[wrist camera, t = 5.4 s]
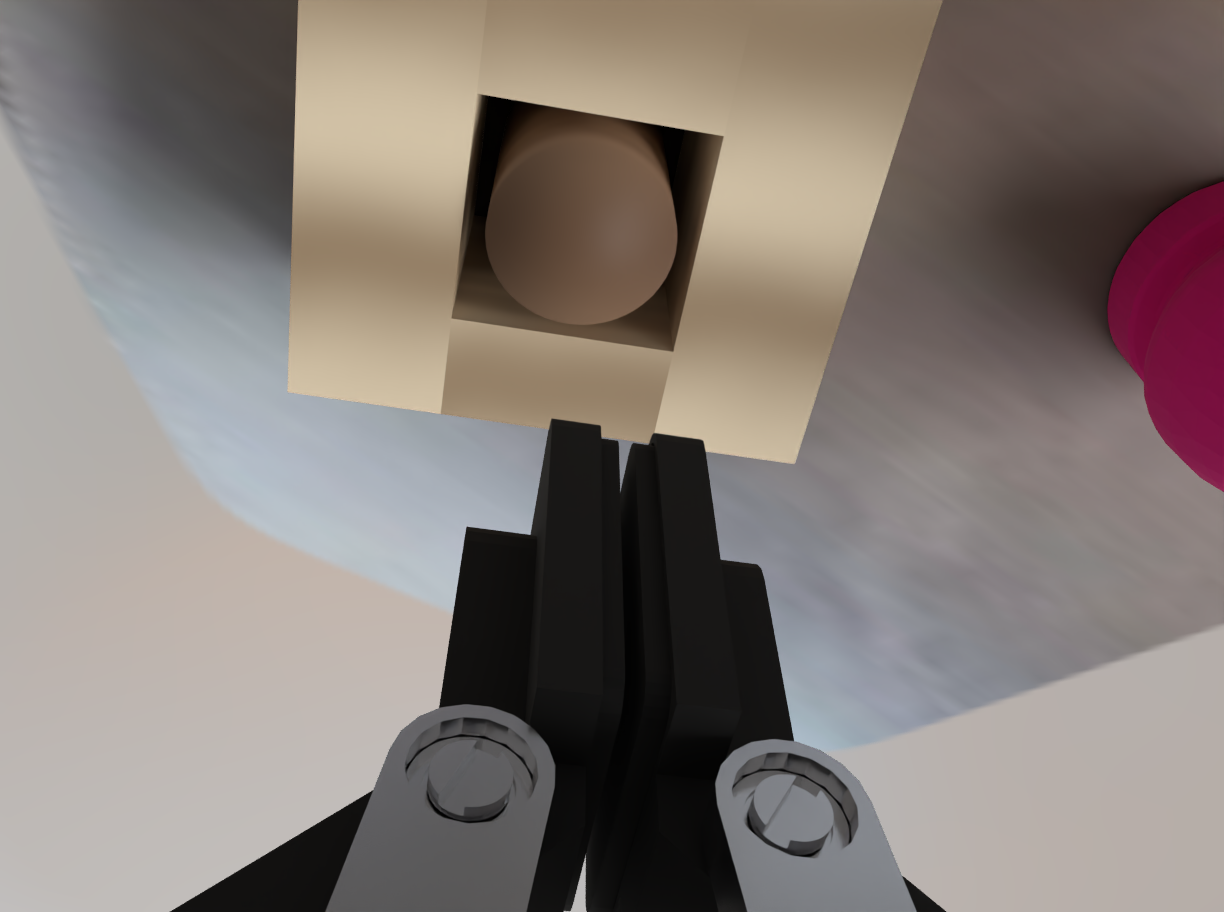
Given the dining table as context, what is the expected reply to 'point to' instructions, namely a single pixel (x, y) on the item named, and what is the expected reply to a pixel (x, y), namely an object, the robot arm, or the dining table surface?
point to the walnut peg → (580, 213)
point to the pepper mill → (1178, 326)
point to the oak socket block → (702, 196)
